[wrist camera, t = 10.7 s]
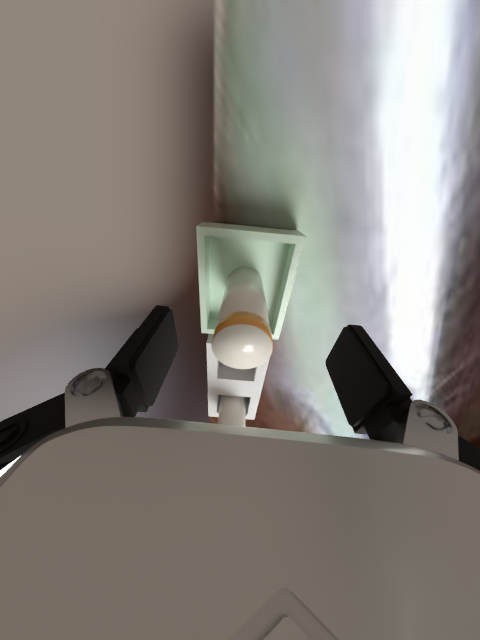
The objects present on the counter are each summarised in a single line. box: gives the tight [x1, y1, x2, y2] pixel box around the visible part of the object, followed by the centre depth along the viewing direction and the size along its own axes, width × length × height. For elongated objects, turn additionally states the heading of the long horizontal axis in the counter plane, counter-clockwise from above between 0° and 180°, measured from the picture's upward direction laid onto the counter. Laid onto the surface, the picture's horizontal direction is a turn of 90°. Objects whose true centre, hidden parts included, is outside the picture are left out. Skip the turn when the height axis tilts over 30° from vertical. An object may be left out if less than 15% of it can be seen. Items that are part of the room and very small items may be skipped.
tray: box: [196, 222, 306, 339], centre depth 18 cm, size 10×8×2 cm
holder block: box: [206, 334, 270, 420], centre depth 25 cm, size 15×7×3 cm, turn 175°
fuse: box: [218, 395, 246, 427], centre depth 25 cm, size 4×4×9 cm
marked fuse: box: [212, 267, 273, 369], centre depth 15 cm, size 4×4×9 cm
